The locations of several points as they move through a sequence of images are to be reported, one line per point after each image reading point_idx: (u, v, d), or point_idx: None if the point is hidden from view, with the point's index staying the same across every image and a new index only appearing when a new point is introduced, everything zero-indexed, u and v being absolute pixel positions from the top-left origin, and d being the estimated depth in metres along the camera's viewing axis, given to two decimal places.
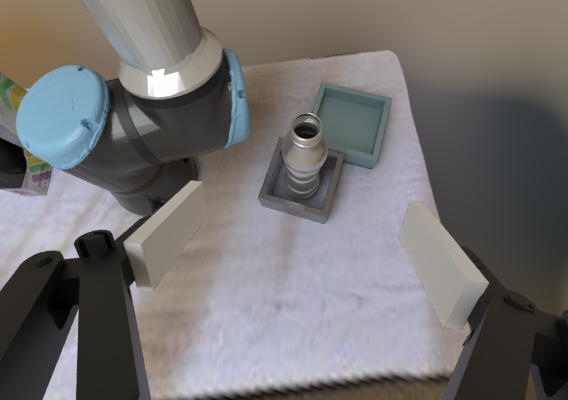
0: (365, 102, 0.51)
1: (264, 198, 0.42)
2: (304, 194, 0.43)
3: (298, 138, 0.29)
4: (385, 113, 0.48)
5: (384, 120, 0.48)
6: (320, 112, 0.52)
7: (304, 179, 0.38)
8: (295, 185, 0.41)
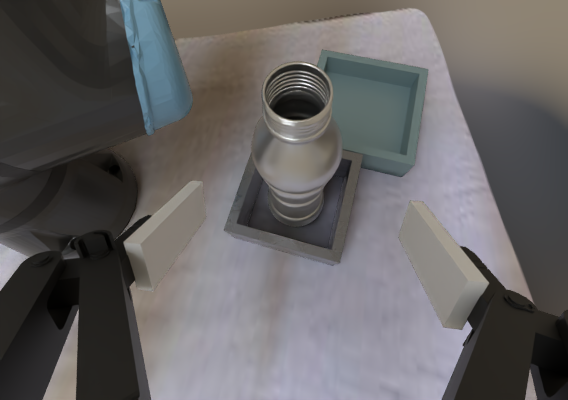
0: (387, 77, 0.34)
1: (234, 231, 0.26)
2: (300, 221, 0.27)
3: (278, 119, 0.12)
4: (420, 90, 0.32)
5: (420, 102, 0.31)
6: None
7: (298, 202, 0.21)
8: (284, 209, 0.24)
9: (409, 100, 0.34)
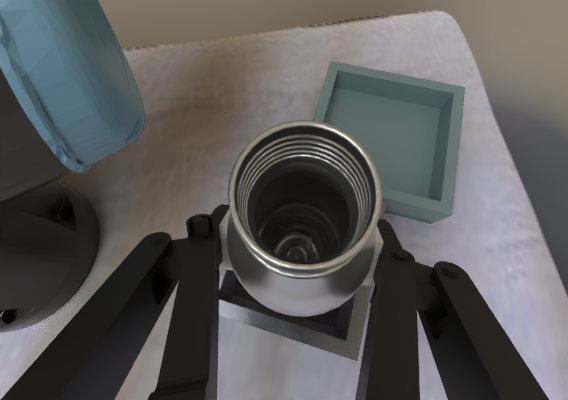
0: (411, 96, 0.28)
1: None
2: None
3: (262, 257, 0.05)
4: (455, 115, 0.25)
5: (456, 130, 0.24)
6: (328, 116, 0.28)
7: None
8: None
9: (439, 125, 0.27)
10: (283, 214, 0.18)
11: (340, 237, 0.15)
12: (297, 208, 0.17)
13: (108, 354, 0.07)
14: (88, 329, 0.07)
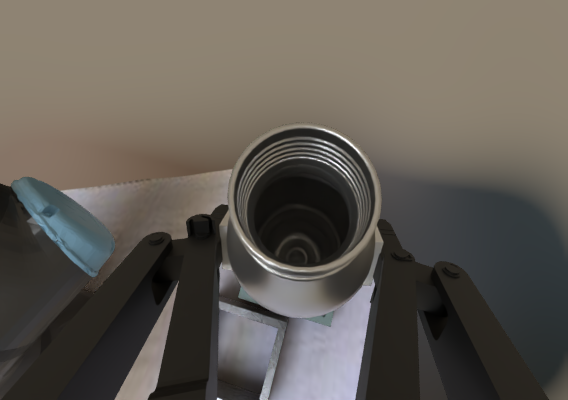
0: None
1: None
2: None
3: (262, 260, 0.05)
4: None
5: None
6: None
7: None
8: None
9: None
10: (283, 215, 0.18)
11: (340, 238, 0.15)
12: (297, 209, 0.17)
13: (108, 354, 0.07)
14: (88, 329, 0.07)
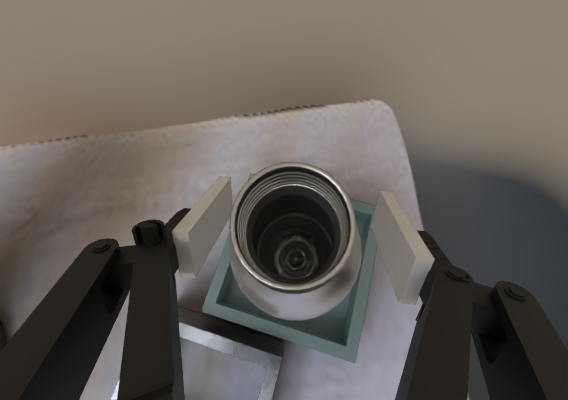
0: None
1: None
2: None
3: (258, 280, 0.07)
4: (371, 241, 0.24)
5: (370, 259, 0.24)
6: None
7: None
8: None
9: (361, 241, 0.26)
10: (281, 222, 0.19)
11: (334, 245, 0.16)
12: (295, 216, 0.18)
13: (59, 369, 0.07)
14: (31, 347, 0.07)
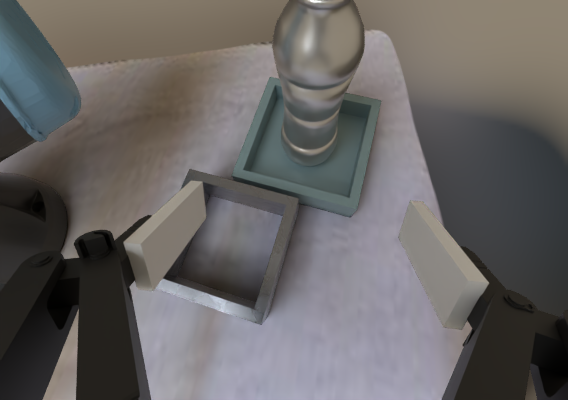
0: (340, 107, 0.32)
1: None
2: (314, 155, 0.27)
3: None
4: (370, 124, 0.29)
5: (369, 137, 0.29)
6: (269, 124, 0.33)
7: (316, 115, 0.21)
8: (299, 136, 0.24)
9: (362, 132, 0.31)
10: None
11: None
12: None
13: (6, 392, 0.06)
14: None
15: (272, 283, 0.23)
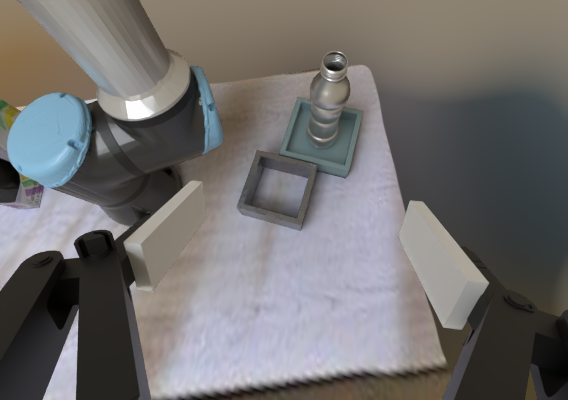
0: None
1: (242, 208, 0.45)
2: (325, 142, 0.49)
3: (329, 71, 0.34)
4: (356, 125, 0.51)
5: (356, 132, 0.51)
6: (297, 125, 0.55)
7: (328, 121, 0.43)
8: (318, 131, 0.46)
9: (352, 129, 0.54)
10: None
11: None
12: None
13: (6, 392, 0.06)
14: None
15: (305, 206, 0.45)
